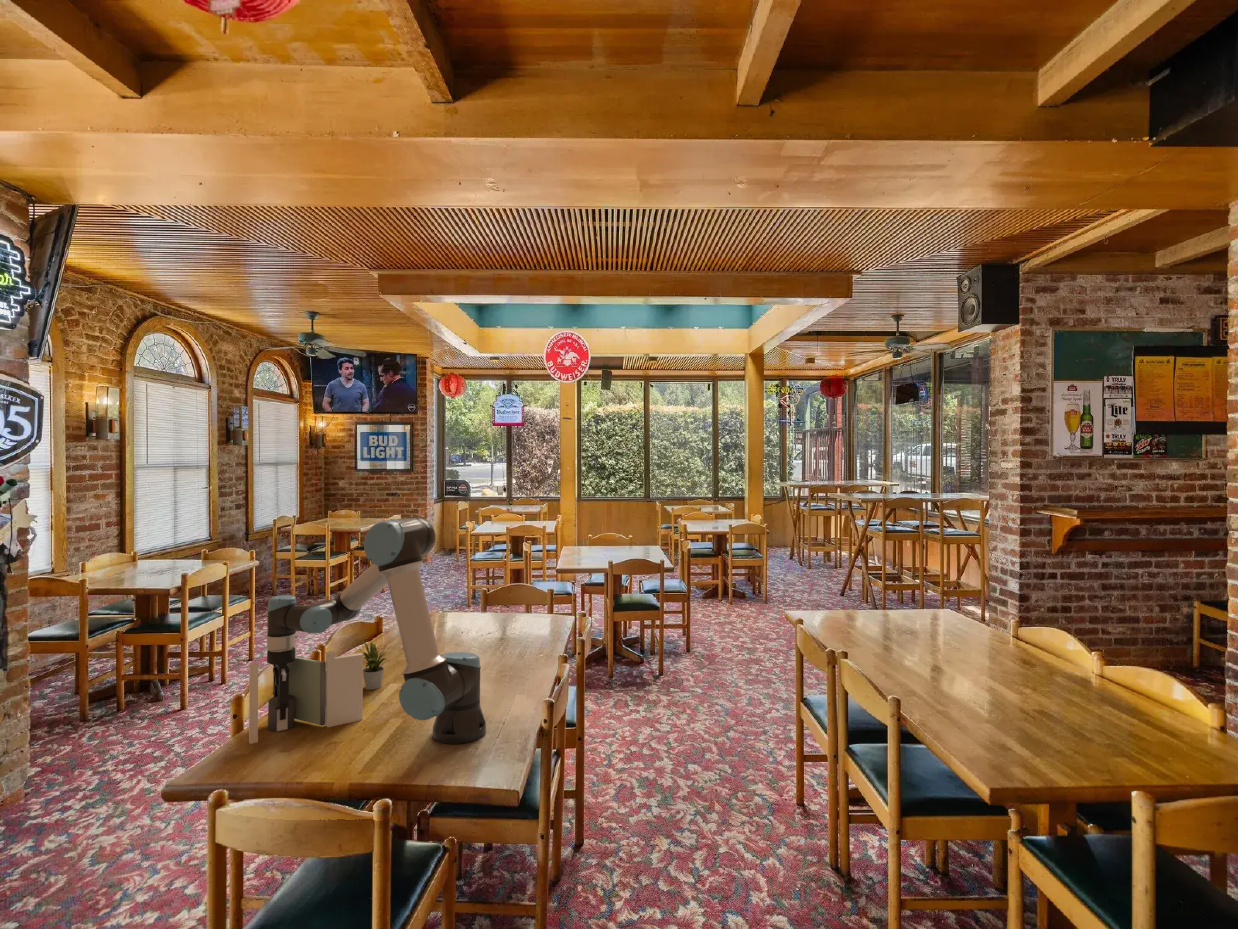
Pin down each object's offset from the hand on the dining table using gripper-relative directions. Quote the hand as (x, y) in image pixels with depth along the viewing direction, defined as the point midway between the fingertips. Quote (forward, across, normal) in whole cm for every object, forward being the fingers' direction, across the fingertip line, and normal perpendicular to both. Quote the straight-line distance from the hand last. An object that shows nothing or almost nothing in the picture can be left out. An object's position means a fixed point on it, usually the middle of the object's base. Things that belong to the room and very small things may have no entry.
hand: (280, 725), depth 190 cm
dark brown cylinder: (0, 0, 0) cm, 0 cm away
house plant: (0, +20, -30) cm, 37 cm away
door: (0, -1, -6) cm, 6 cm away
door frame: (0, -8, -6) cm, 10 cm away
